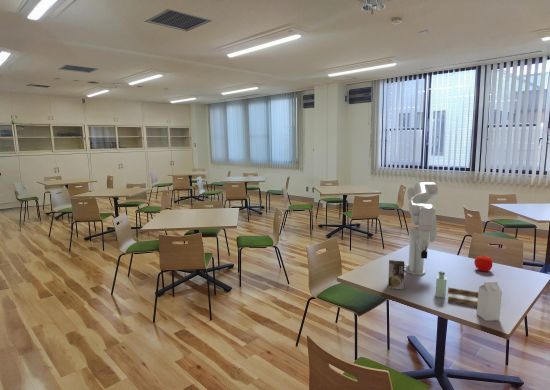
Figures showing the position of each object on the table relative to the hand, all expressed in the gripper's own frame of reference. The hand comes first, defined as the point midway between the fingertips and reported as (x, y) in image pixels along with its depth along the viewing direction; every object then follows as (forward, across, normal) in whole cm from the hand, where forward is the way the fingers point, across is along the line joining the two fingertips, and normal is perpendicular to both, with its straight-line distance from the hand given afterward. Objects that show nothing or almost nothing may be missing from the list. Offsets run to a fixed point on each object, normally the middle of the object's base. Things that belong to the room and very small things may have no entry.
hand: (423, 257), depth 196 cm
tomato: (+21, -57, +36) cm, 70 cm away
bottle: (+22, -1, +10) cm, 24 cm away
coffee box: (+22, -2, -15) cm, 27 cm away
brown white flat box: (+22, -1, +24) cm, 32 cm away
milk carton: (+22, +16, +32) cm, 42 cm away
